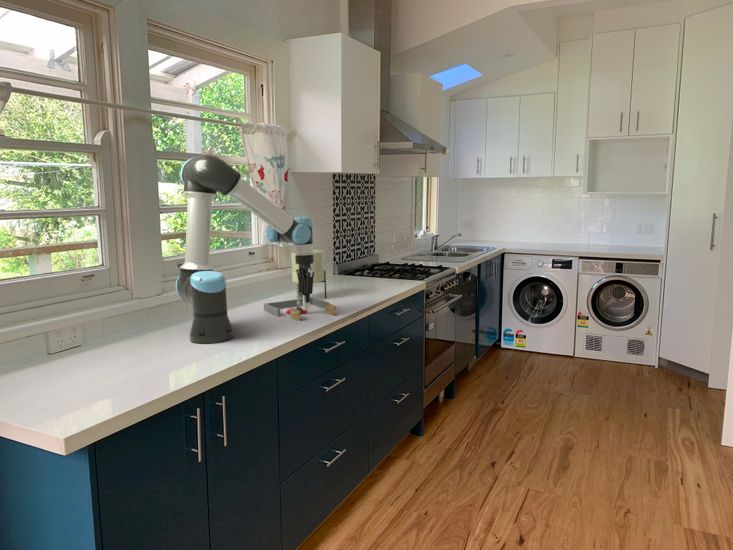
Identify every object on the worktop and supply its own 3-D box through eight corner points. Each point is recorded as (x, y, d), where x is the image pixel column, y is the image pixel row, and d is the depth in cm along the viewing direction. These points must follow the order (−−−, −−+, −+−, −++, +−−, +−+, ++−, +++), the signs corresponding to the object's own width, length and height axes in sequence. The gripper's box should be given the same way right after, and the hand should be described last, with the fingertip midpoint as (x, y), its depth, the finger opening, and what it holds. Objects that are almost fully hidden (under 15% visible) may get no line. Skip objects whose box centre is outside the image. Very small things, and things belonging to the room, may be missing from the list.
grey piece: (278, 316, 234) (277, 309, 233) (264, 310, 247) (263, 303, 247) (329, 309, 246) (329, 302, 246) (313, 303, 260) (313, 297, 259)
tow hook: (283, 312, 244) (290, 315, 235) (282, 282, 243) (288, 284, 234) (302, 310, 247) (309, 313, 239) (300, 281, 246) (307, 283, 238)
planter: (287, 302, 266) (284, 253, 262) (301, 295, 280) (299, 249, 277) (316, 303, 261) (314, 253, 257) (329, 297, 275) (328, 250, 272)
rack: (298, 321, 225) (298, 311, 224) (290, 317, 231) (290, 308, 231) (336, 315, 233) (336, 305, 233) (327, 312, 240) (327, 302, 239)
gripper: (319, 254, 231) (321, 311, 234) (305, 252, 242) (308, 306, 245) (302, 256, 227) (305, 313, 230) (289, 253, 238) (292, 308, 242)
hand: (306, 309), depth 238 cm, fingers closed
